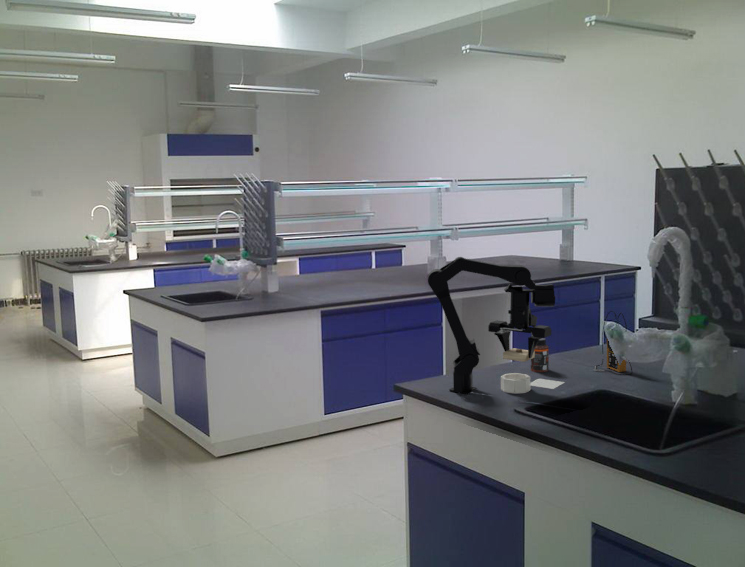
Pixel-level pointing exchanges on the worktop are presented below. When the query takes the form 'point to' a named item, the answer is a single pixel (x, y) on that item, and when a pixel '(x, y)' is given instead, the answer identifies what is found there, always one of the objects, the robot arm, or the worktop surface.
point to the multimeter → (613, 356)
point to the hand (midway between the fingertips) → (518, 356)
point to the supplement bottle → (540, 357)
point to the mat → (546, 383)
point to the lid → (517, 355)
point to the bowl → (515, 383)
